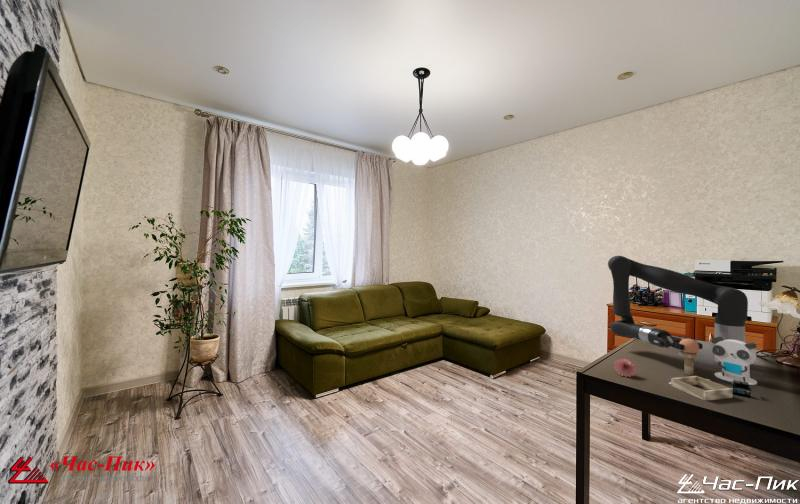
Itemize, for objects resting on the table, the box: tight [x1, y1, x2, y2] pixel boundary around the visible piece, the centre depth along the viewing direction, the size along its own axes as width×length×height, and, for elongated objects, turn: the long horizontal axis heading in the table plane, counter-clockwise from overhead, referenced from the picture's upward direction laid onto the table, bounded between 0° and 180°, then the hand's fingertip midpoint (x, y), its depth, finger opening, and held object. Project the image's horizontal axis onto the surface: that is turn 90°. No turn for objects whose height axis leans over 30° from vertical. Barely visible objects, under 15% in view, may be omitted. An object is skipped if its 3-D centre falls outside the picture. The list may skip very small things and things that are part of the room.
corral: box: [670, 375, 733, 401], centre depth 111 cm, size 11×11×3 cm
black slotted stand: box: [730, 380, 763, 401], centre depth 110 cm, size 12×7×5 cm, turn 49°
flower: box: [613, 357, 638, 378], centre depth 127 cm, size 8×8×6 cm
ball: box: [679, 338, 700, 354], centre depth 127 cm, size 6×6×6 cm
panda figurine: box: [710, 336, 758, 386], centre depth 122 cm, size 12×11×15 cm
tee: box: [678, 350, 700, 376], centre depth 127 cm, size 4×4×9 cm
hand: (693, 347), depth 126 cm, fingers open, 8 cm apart
